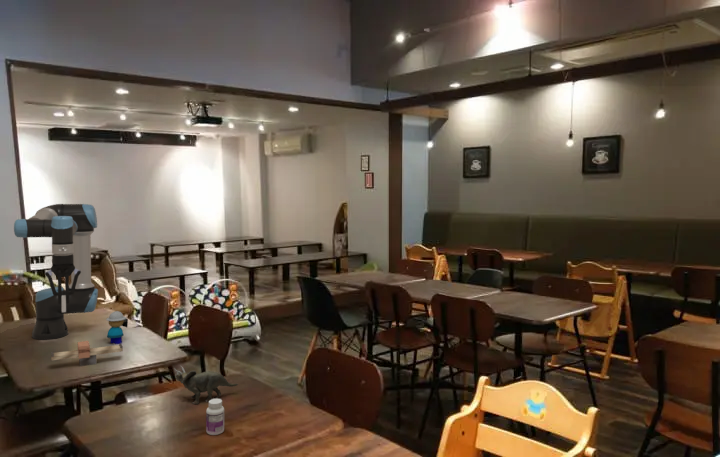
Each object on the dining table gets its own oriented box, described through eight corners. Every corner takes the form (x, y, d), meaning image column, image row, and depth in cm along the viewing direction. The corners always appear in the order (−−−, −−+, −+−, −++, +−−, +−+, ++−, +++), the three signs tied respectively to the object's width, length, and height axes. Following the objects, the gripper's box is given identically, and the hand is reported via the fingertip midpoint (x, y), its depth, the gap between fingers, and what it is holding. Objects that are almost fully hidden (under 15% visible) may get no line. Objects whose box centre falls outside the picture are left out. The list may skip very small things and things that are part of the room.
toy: (130, 341, 245) (130, 310, 244) (114, 346, 237) (114, 314, 236) (117, 338, 249) (117, 308, 248) (102, 343, 241) (101, 312, 240)
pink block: (78, 358, 208) (78, 346, 208) (77, 353, 214) (77, 342, 214) (89, 357, 210) (89, 345, 210) (88, 352, 217) (88, 340, 216)
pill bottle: (208, 427, 159) (208, 397, 159) (225, 427, 160) (225, 397, 159) (204, 435, 154) (204, 404, 153) (222, 435, 154) (222, 404, 154)
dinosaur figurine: (238, 393, 186) (238, 363, 186) (237, 403, 178) (237, 371, 177) (175, 396, 183) (175, 365, 182) (170, 405, 174) (170, 373, 174)
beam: (51, 370, 205) (51, 355, 204) (51, 366, 209) (51, 352, 208) (122, 360, 218) (122, 346, 218) (121, 357, 222) (121, 343, 222)
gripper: (43, 256, 201) (45, 315, 202) (81, 254, 207) (82, 311, 209) (43, 253, 207) (45, 311, 209) (80, 252, 214) (81, 307, 216)
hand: (63, 311), depth 209 cm, fingers closed
